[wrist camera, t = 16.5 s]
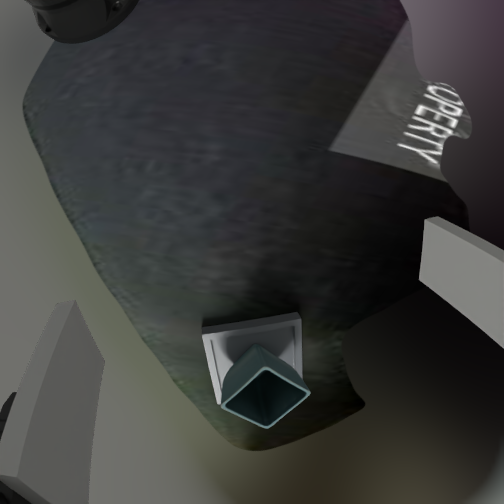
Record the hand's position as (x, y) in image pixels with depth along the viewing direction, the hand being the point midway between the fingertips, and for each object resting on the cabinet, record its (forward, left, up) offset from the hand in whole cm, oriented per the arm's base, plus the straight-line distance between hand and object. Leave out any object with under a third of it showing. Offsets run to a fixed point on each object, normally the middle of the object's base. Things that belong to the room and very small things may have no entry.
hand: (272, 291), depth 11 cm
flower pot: (+26, +2, -29) cm, 39 cm away
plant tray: (+26, +2, -30) cm, 40 cm away
